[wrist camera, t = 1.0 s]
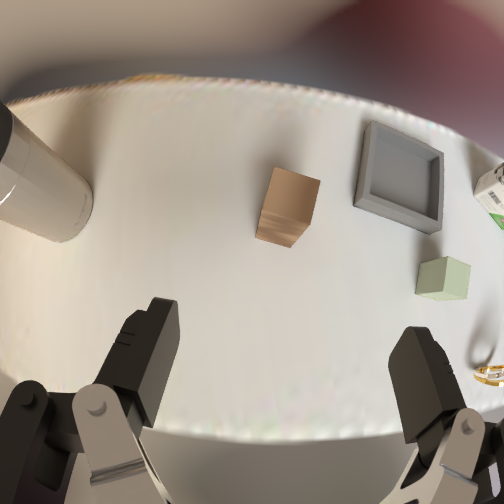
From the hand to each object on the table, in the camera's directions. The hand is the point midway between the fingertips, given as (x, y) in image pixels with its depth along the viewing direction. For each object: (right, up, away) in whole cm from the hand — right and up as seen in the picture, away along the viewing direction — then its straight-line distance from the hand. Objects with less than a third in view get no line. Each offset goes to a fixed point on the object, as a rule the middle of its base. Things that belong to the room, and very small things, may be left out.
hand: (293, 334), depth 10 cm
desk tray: (+18, +12, +26) cm, 34 cm away
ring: (+32, -15, +22) cm, 41 cm away
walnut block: (+1, +6, +24) cm, 25 cm away
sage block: (+21, -1, +24) cm, 32 cm away
